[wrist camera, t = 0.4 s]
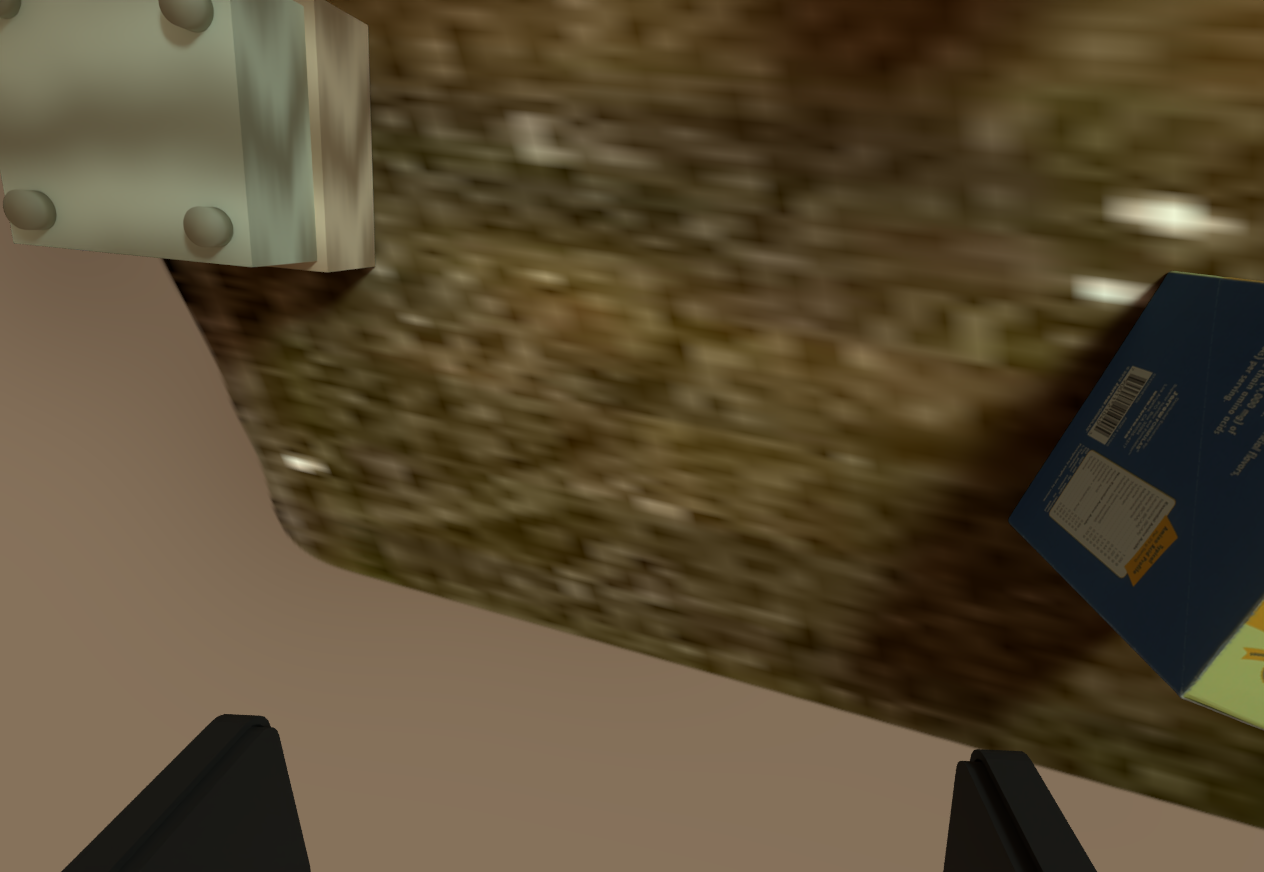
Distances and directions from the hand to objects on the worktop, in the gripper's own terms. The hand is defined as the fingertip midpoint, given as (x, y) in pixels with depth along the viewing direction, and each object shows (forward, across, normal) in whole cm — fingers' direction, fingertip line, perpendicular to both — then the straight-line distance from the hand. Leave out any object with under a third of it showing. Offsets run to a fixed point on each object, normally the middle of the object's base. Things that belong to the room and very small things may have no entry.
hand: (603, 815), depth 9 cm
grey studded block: (+30, +23, -13) cm, 40 cm away
